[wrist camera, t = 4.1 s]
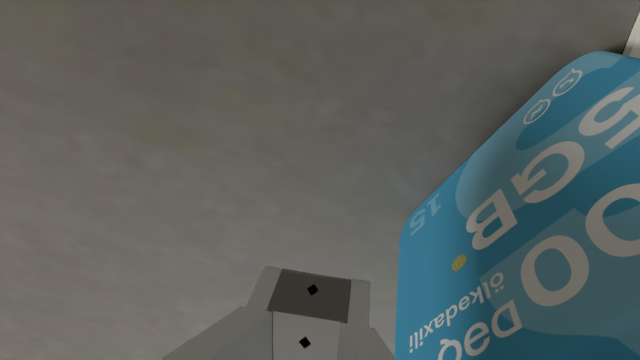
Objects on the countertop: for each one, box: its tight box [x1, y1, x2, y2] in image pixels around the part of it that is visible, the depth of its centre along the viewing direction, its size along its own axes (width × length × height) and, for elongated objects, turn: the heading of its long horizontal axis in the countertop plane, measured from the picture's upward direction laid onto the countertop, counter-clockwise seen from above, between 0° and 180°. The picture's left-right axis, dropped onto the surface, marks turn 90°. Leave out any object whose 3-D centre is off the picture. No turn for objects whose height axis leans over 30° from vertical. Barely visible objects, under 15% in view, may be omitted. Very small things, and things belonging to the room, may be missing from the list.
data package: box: [394, 51, 640, 360], centre depth 13 cm, size 12×4×12 cm, turn 146°
